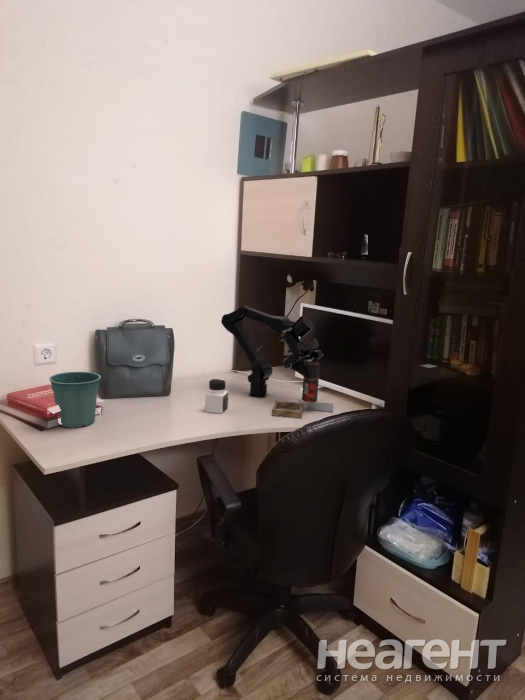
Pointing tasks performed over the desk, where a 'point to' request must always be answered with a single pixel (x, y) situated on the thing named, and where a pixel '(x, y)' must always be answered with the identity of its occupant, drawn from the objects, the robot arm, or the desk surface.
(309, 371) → the deodorant
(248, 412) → the desk surface
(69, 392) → the flower pot
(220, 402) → the medicine bottle
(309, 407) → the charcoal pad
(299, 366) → the robot arm
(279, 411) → the walnut collar
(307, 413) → the desk surface
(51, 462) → the desk surface
